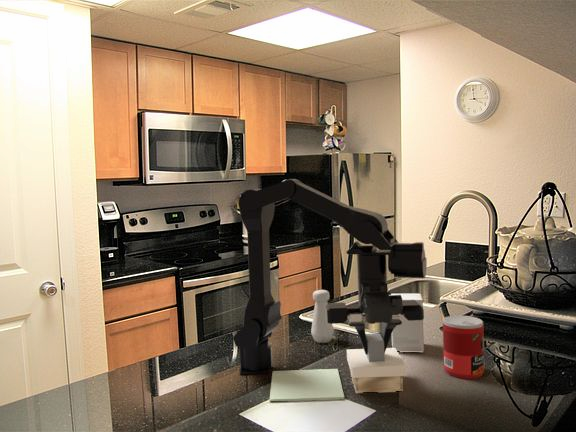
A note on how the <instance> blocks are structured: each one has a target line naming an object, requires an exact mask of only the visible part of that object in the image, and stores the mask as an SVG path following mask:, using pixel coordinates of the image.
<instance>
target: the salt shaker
mask: <svg viewBox="0 0 576 432" xmlns="http://www.w3.org/2000/svg"><path fill="white" fill-rule="evenodd" d="M330 296H331V295H330V292H329V291H328V290H326V289H318V290H315V291H313V292H312V299H313V301H315V303H314V309H313V315H312V321H311V322H312V323H311V330H310V334H311V336H312V338H313V341H314V342H317V343H318V344H326V343H329V342H331V341H332V339H333V336H334V325H333V324H330V323H327V318H326V305H327V304H328V303H329V302H328V301H329V300H330Z"/></svg>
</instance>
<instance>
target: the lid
mask: <svg viewBox="0 0 576 432" xmlns="http://www.w3.org/2000/svg"><path fill="white" fill-rule="evenodd" d="M365 334H366V341H367V347H368V354H367V355H366V354H365V351H364V349H363V348H355V349H354V348H353V349H346V360H347V363H348V367H349V371H350V375H351V374H352V377H353V378H363V377H391V376H403V377H406V376H407V365H406V363H405V362H404V360H403V358H402V356H401V355H400V352H397V350H396V348H392V347H387V348H386V351H385V354H384V340H383V339H382V337H381V334H380V332H379V333H365Z"/></svg>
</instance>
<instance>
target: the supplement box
mask: <svg viewBox="0 0 576 432" xmlns="http://www.w3.org/2000/svg"><path fill="white" fill-rule="evenodd" d="M391 295H401V297H402V300H415V301H417V302H418V303H419V304H420V305H421V306H422V307H423V308H424V300H423V297H422V294H421V293H391V294H390V296H391ZM400 320H401V321H402V324H401V325H397V326H396V327H395V328H394V329H393V331H392V333H391V346H392V347H391V348H396V350H397V351H424V352H425V342H424V341H425V339H424V338H425V336H424V319H423V320H413V321H408V320H407V319H406V318H405V317H404V315H401V317H400Z"/></svg>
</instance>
